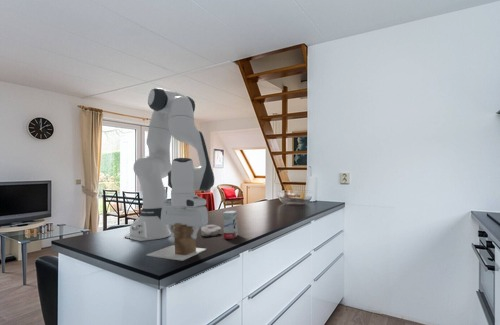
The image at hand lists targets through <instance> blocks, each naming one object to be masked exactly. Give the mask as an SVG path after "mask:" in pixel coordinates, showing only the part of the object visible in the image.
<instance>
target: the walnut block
mask: <svg viewBox="0 0 500 325" xmlns="http://www.w3.org/2000/svg"><path fill="white" fill-rule="evenodd" d="M193 232H194V230H193V227H190V226H186V224H181V223H175V224H174V233H175V237H174V245H175V254H178V255H188V254H190V253H193V252H195V251H196V248H197V245H196V244H197V242H196V240H197V238H196V239H191V234H193Z"/></svg>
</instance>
